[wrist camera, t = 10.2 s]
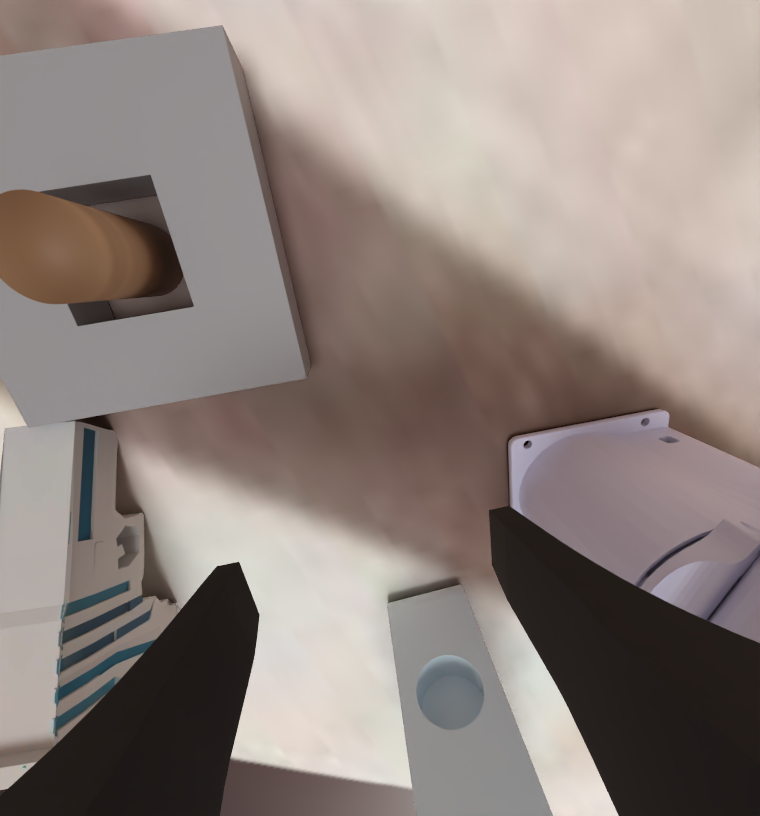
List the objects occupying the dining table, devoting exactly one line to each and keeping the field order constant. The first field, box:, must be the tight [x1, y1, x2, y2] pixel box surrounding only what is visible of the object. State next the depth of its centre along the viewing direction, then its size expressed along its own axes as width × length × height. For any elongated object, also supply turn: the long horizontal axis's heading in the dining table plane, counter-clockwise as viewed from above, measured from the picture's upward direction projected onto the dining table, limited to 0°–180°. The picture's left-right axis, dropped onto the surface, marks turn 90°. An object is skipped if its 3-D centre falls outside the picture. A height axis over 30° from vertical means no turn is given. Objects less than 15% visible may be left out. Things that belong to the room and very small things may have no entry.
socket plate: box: [0, 25, 311, 428], centre depth 15 cm, size 12×12×2 cm
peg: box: [0, 189, 183, 304], centre depth 13 cm, size 3×3×6 cm
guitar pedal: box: [387, 584, 553, 816], centre depth 22 cm, size 23×6×13 cm, turn 13°
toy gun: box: [0, 421, 180, 790], centre depth 18 cm, size 3×14×10 cm
